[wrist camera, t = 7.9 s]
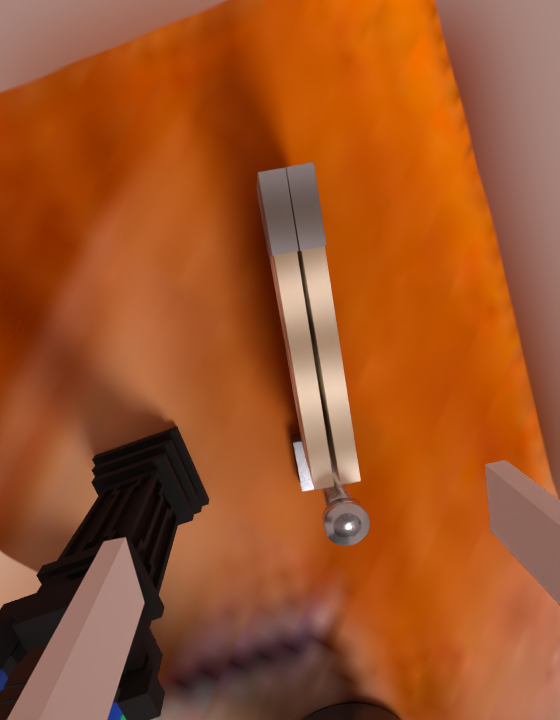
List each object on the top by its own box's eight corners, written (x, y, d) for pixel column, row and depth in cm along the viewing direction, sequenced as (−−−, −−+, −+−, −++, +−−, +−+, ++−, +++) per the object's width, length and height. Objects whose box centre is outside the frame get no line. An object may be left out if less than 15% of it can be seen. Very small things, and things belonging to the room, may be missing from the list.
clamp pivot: (351, 473, 41) (386, 548, 30) (300, 483, 41) (317, 562, 30) (343, 425, 40) (377, 487, 29) (291, 436, 40) (306, 501, 29)
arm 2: (320, 444, 38) (335, 486, 31) (301, 448, 38) (313, 491, 31) (278, 187, 33) (285, 167, 26) (256, 190, 33) (257, 172, 26)
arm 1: (341, 440, 38) (362, 481, 31) (323, 444, 38) (339, 485, 31) (300, 182, 33) (313, 162, 26) (278, 186, 33) (286, 167, 26)
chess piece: (177, 426, 39) (102, 595, 19) (209, 499, 41) (170, 718, 21) (95, 455, 39) (-61, 651, 19) (131, 526, 41) (22, 769, 21)
